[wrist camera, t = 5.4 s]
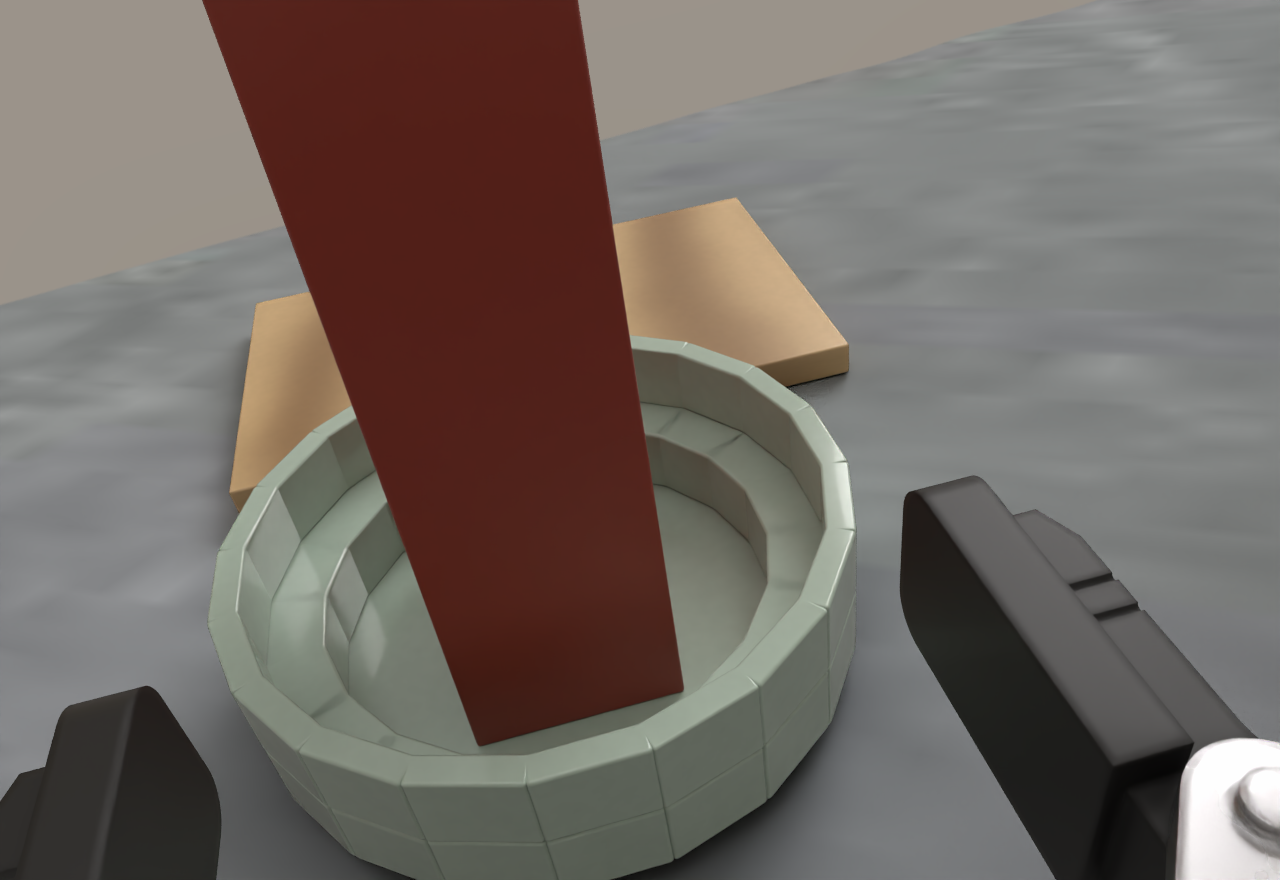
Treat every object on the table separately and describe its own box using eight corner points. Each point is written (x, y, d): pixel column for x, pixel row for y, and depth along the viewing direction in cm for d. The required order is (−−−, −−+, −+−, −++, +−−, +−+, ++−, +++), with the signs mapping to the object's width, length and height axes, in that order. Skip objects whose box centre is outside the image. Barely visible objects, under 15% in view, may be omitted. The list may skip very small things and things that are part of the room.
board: (738, 220, 39) (736, 196, 39) (849, 372, 31) (849, 344, 30) (264, 326, 37) (255, 302, 37) (240, 519, 29) (227, 493, 28)
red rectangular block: (623, 510, 26) (501, -164, 17) (685, 692, 21) (562, -105, 12) (452, 552, 26) (232, -116, 16) (478, 748, 21) (188, -35, 12)
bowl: (746, 409, 30) (737, 289, 27) (962, 797, 19) (978, 660, 17) (290, 521, 28) (237, 405, 26) (259, 1003, 18) (166, 884, 16)
